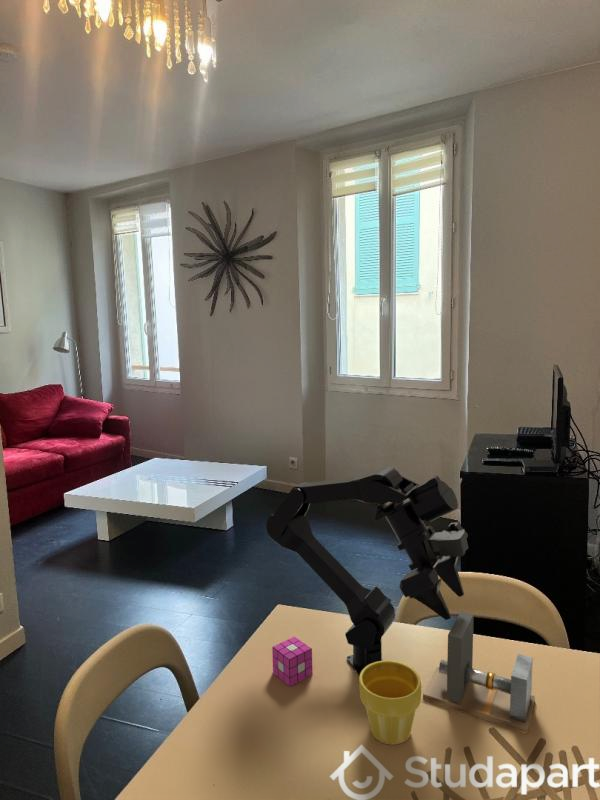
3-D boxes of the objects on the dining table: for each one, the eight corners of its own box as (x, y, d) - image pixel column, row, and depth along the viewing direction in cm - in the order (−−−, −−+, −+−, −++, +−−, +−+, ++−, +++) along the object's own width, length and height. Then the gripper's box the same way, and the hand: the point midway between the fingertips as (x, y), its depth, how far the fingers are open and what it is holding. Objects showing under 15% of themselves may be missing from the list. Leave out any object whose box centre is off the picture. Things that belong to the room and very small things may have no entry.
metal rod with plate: (435, 694, 102) (435, 653, 101) (445, 672, 108) (446, 634, 106) (525, 723, 94) (526, 680, 93) (531, 698, 100) (532, 657, 99)
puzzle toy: (272, 672, 111) (271, 646, 110) (295, 661, 114) (294, 635, 113) (290, 687, 106) (289, 659, 105) (312, 674, 110) (312, 648, 109)
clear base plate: (422, 698, 102) (422, 693, 102) (436, 671, 110) (437, 666, 110) (527, 733, 93) (527, 727, 93) (534, 701, 101) (534, 695, 101)
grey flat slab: (446, 699, 100) (447, 634, 98) (459, 671, 107) (460, 611, 105) (460, 703, 98) (461, 638, 97) (472, 675, 106) (473, 614, 104)
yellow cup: (349, 719, 97) (348, 668, 96) (399, 703, 101) (399, 653, 100) (378, 762, 88) (378, 706, 86) (433, 742, 91) (434, 688, 90)
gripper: (431, 531, 91) (483, 617, 89) (460, 498, 107) (504, 571, 105) (379, 555, 97) (426, 637, 95) (413, 520, 113) (454, 590, 111)
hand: (455, 606), depth 101 cm, fingers open, 9 cm apart
